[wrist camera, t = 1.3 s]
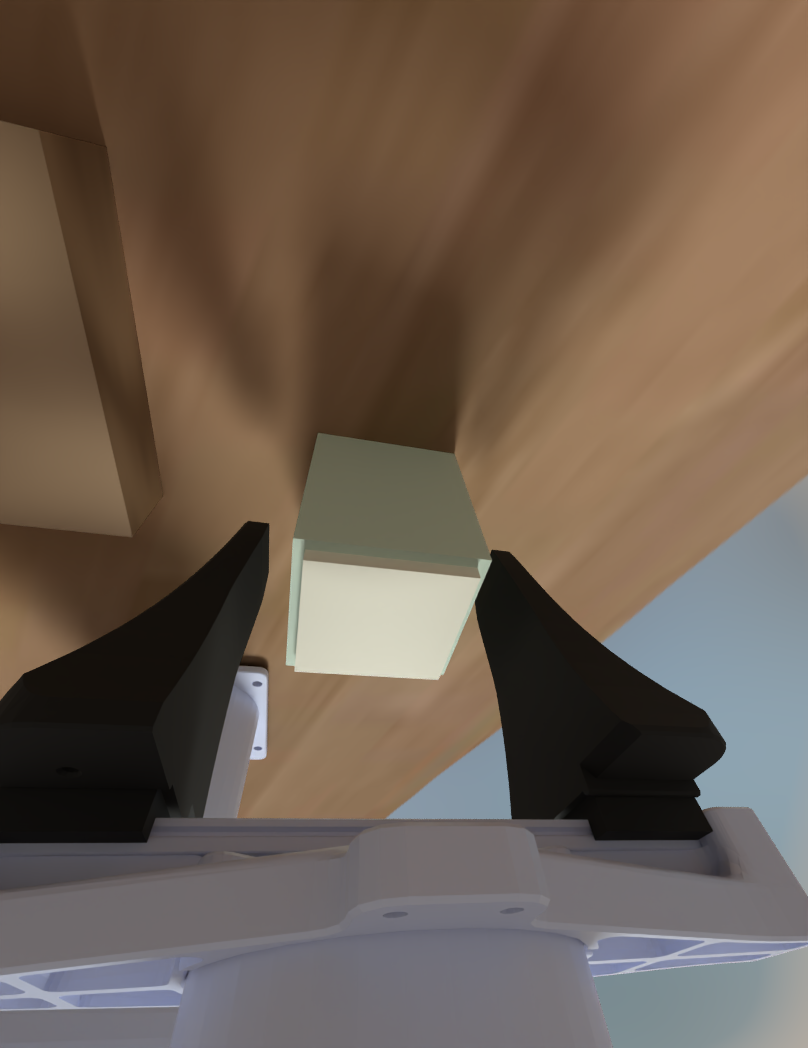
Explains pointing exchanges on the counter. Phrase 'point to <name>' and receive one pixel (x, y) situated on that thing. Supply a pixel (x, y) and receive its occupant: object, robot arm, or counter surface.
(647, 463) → the counter surface
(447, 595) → the tea tin
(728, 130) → the counter surface
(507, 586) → the robot arm
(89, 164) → the walnut block
